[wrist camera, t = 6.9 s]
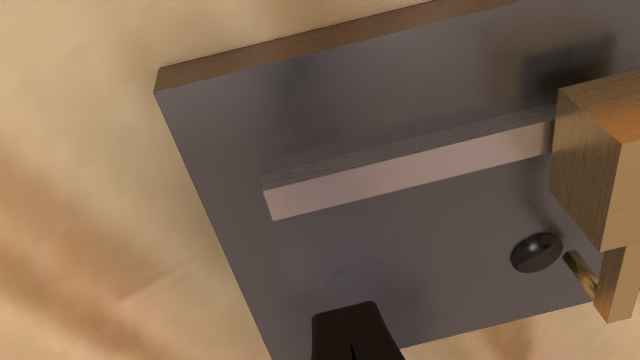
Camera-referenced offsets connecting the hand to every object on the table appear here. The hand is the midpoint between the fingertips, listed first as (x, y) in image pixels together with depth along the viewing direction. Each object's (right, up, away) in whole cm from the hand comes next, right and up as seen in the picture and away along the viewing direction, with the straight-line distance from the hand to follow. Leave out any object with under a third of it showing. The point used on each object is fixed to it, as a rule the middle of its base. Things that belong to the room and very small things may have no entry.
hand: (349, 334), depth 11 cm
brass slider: (+8, +3, +5) cm, 10 cm away
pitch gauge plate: (+9, +4, +8) cm, 12 cm away
